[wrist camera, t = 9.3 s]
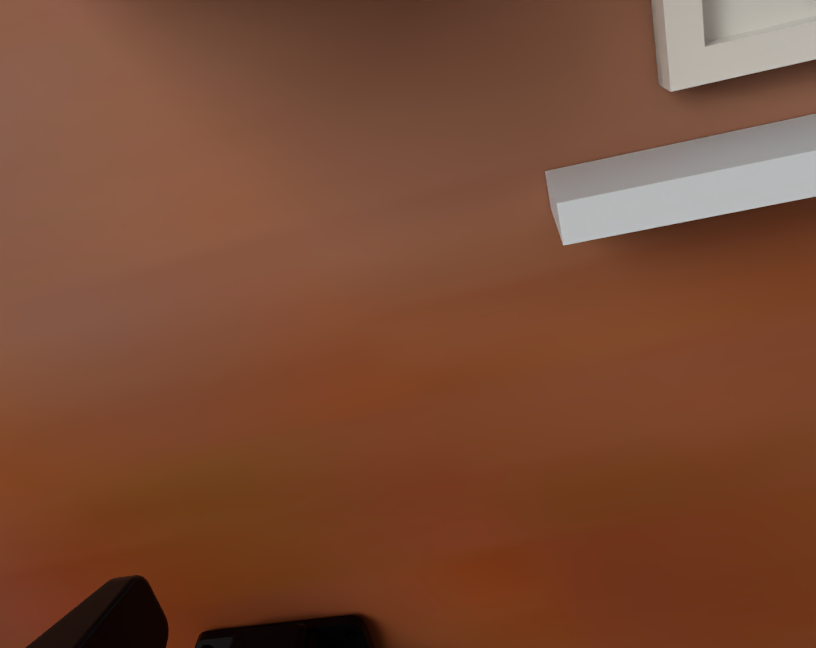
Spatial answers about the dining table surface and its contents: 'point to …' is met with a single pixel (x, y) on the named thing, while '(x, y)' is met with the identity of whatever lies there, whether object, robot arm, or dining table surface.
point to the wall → (685, 181)
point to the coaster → (729, 38)
